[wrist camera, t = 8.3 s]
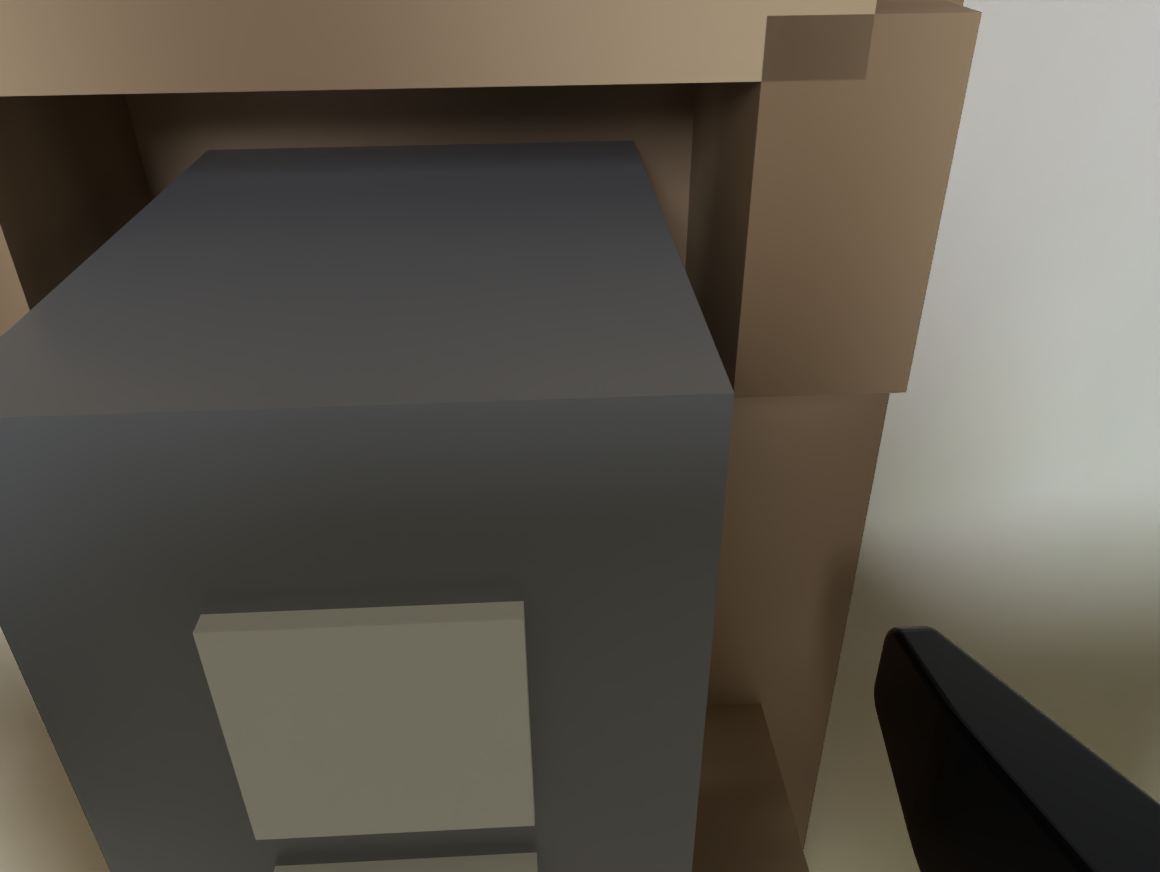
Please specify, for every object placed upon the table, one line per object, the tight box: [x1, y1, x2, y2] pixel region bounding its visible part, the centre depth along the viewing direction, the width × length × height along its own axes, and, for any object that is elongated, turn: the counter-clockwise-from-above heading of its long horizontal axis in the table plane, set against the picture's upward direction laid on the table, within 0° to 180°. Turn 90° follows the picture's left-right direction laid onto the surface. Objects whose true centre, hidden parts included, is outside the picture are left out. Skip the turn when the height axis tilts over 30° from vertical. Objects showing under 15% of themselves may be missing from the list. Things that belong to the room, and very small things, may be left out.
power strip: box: [0, 140, 734, 872], centre depth 9 cm, size 4×9×5 cm, turn 1°
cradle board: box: [0, 0, 982, 872], centre depth 10 cm, size 10×16×3 cm, turn 1°
